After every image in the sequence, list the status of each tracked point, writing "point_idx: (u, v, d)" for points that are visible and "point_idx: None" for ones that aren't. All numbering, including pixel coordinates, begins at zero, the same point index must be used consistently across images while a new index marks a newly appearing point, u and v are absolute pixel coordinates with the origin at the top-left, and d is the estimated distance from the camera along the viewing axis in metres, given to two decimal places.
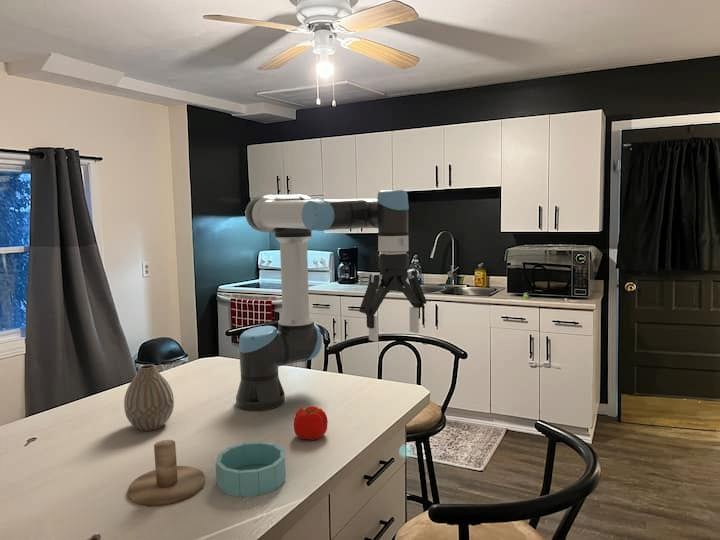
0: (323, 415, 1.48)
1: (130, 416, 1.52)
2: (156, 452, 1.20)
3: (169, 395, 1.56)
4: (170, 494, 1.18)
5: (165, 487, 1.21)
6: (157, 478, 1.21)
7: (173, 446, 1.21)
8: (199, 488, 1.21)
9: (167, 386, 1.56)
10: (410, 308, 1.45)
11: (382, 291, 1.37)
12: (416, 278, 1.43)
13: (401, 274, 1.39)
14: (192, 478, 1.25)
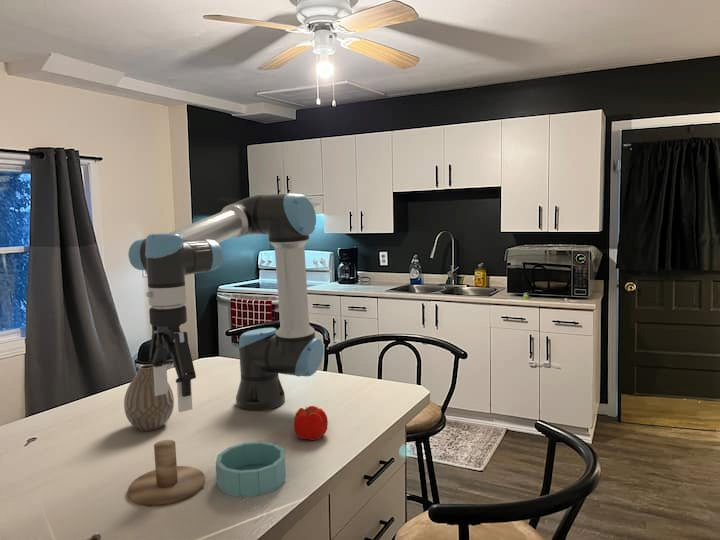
0: (323, 415, 1.48)
1: (130, 416, 1.52)
2: (156, 452, 1.20)
3: (169, 395, 1.56)
4: (170, 494, 1.18)
5: (165, 487, 1.21)
6: (157, 478, 1.21)
7: (173, 446, 1.21)
8: (199, 488, 1.21)
9: None
10: None
11: None
12: (176, 344, 1.14)
13: (166, 333, 1.18)
14: (192, 478, 1.25)
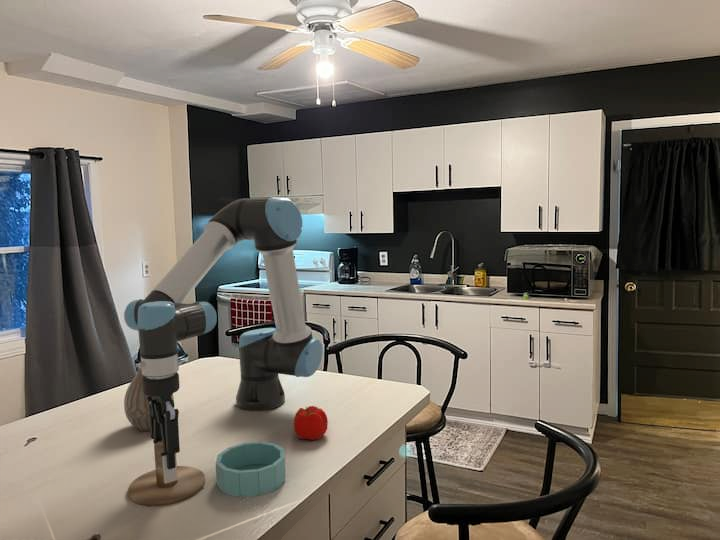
0: (323, 415, 1.48)
1: (130, 416, 1.52)
2: (156, 452, 1.20)
3: None
4: (170, 494, 1.18)
5: (165, 487, 1.21)
6: (157, 478, 1.21)
7: None
8: (199, 488, 1.21)
9: None
10: None
11: None
12: (165, 421, 1.16)
13: (159, 399, 1.18)
14: (192, 478, 1.25)
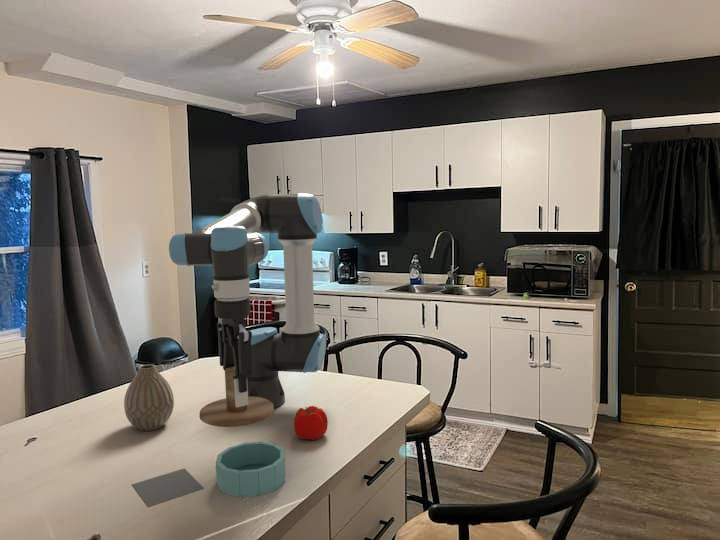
0: (323, 415, 1.48)
1: (130, 416, 1.52)
2: (227, 376, 1.21)
3: (169, 395, 1.56)
4: (242, 417, 1.18)
5: (236, 411, 1.21)
6: (228, 403, 1.21)
7: None
8: (270, 413, 1.21)
9: (167, 386, 1.56)
10: None
11: None
12: (239, 342, 1.16)
13: (231, 322, 1.19)
14: (261, 405, 1.25)
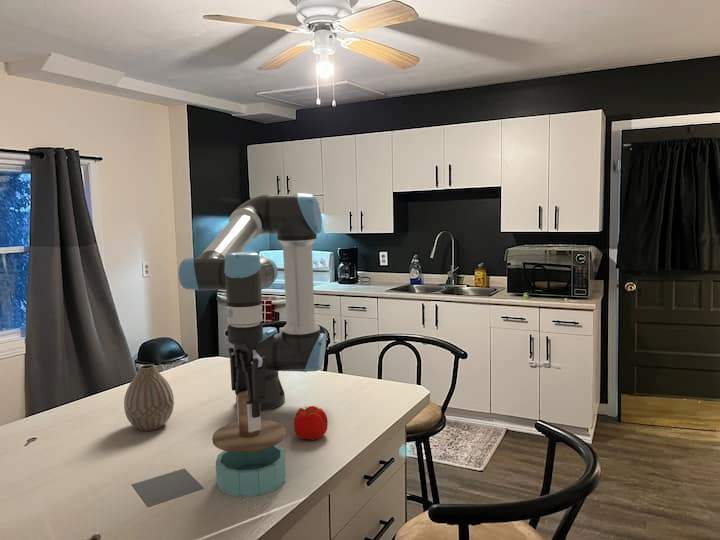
0: (323, 415, 1.48)
1: (130, 416, 1.52)
2: (240, 401, 1.21)
3: (169, 395, 1.56)
4: (256, 442, 1.19)
5: (249, 436, 1.22)
6: (241, 427, 1.22)
7: None
8: (282, 437, 1.22)
9: (167, 386, 1.56)
10: None
11: None
12: (253, 368, 1.17)
13: (245, 348, 1.20)
14: (273, 429, 1.26)
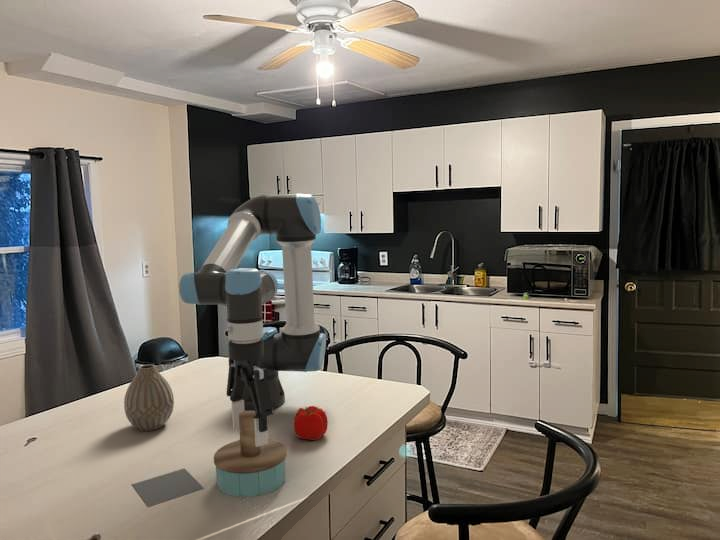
0: (323, 415, 1.48)
1: (130, 416, 1.52)
2: (242, 422, 1.22)
3: (169, 395, 1.56)
4: (257, 462, 1.20)
5: (250, 456, 1.23)
6: (242, 448, 1.23)
7: None
8: (283, 457, 1.23)
9: (167, 386, 1.56)
10: None
11: None
12: (255, 381, 1.17)
13: (245, 365, 1.20)
14: (274, 449, 1.27)
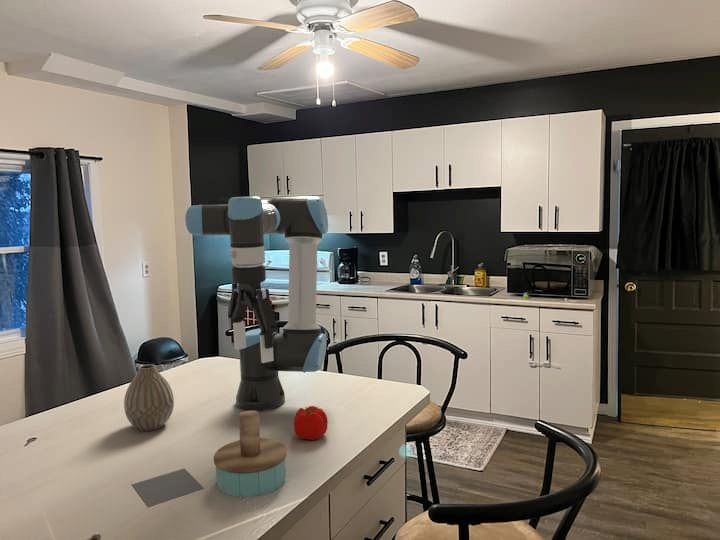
0: (323, 415, 1.48)
1: (130, 416, 1.52)
2: (242, 422, 1.22)
3: (169, 395, 1.56)
4: (257, 462, 1.20)
5: (250, 456, 1.23)
6: (242, 448, 1.23)
7: (257, 416, 1.23)
8: (283, 457, 1.23)
9: (167, 386, 1.56)
10: None
11: None
12: (259, 300, 1.22)
13: (248, 290, 1.26)
14: (274, 449, 1.27)
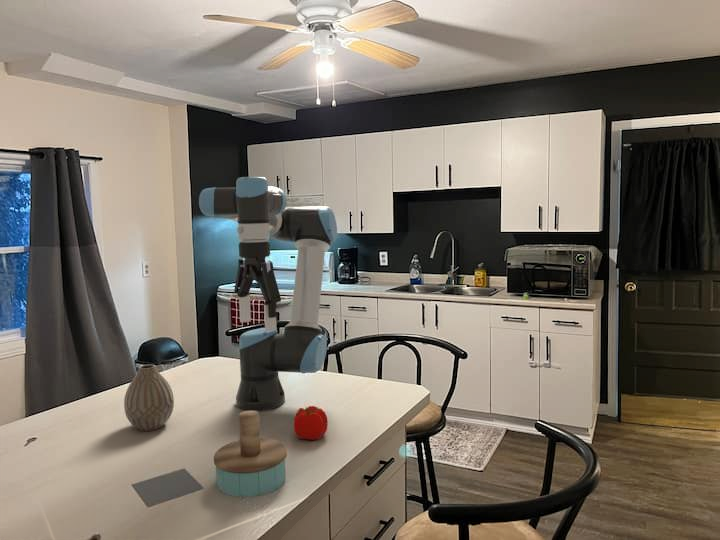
0: (323, 415, 1.48)
1: (130, 416, 1.52)
2: (242, 422, 1.22)
3: (169, 395, 1.56)
4: (257, 462, 1.20)
5: (250, 456, 1.23)
6: (242, 448, 1.23)
7: (257, 416, 1.23)
8: (283, 457, 1.23)
9: (167, 386, 1.56)
10: None
11: None
12: (263, 272, 1.31)
13: (253, 264, 1.35)
14: (274, 449, 1.27)
